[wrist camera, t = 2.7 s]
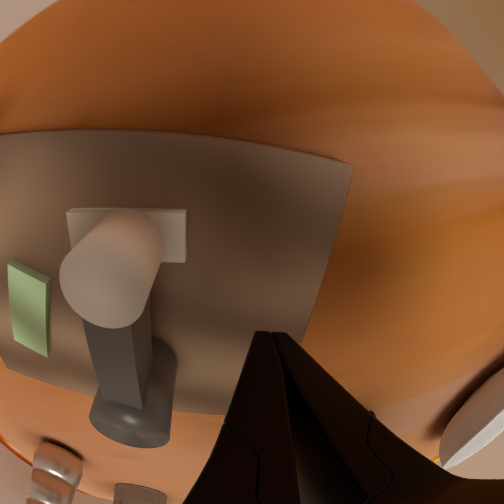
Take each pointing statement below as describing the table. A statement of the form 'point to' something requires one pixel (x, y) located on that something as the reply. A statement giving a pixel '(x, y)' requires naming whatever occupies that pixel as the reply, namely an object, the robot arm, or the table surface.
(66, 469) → the plastic bottle
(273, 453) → the robot arm
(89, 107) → the table surface
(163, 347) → the peg
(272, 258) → the board
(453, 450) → the serving bowl
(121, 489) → the thermos bottle
